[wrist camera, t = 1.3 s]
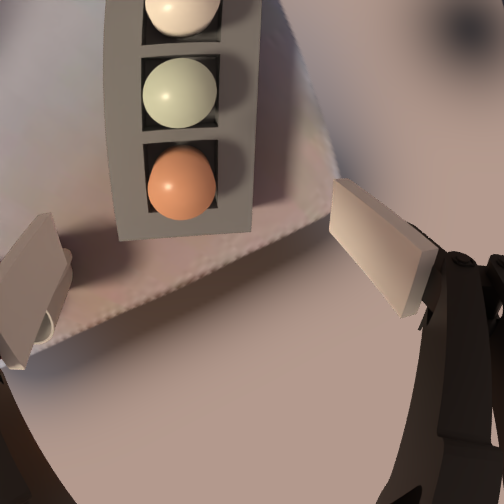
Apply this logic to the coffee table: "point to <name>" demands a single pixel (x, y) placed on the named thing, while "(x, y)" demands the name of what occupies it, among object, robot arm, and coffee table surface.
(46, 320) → the cup
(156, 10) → the cream ball
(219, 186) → the grey socket tray
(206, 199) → the orange egg
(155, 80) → the pale green egg
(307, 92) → the coffee table surface
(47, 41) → the coffee table surface
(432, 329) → the robot arm
